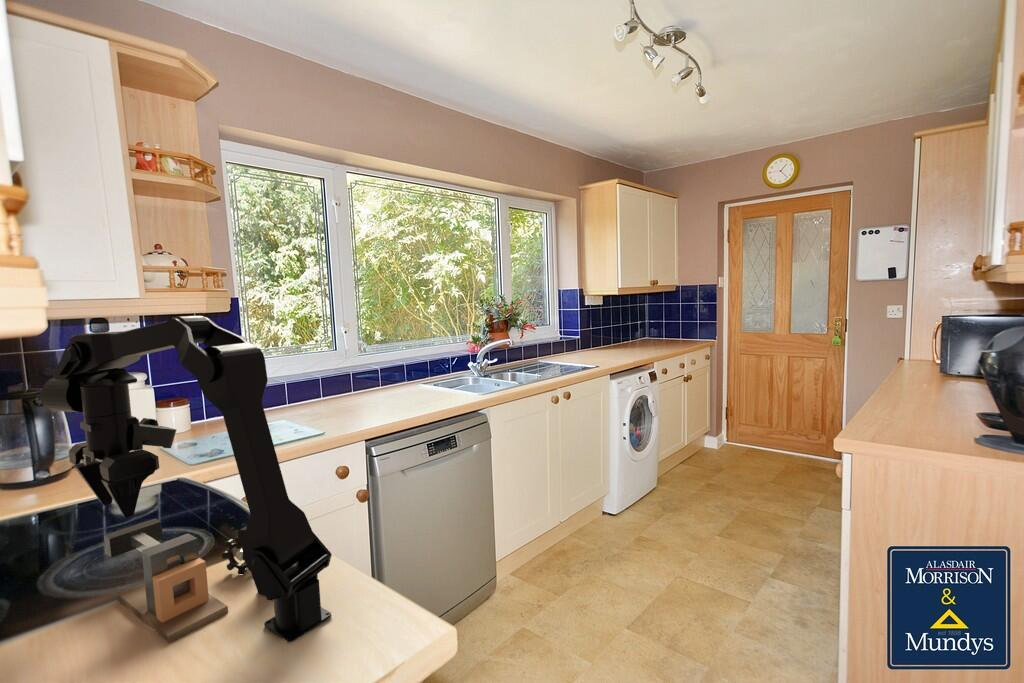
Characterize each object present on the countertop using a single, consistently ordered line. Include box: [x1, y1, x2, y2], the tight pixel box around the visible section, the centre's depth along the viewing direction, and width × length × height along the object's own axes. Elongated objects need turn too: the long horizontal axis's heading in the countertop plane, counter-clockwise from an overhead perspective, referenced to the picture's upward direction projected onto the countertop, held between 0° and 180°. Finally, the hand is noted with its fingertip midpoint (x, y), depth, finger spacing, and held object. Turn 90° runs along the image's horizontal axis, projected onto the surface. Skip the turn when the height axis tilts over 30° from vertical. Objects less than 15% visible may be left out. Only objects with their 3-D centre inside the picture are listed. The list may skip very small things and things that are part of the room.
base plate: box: [117, 582, 229, 644], centre depth 73 cm, size 18×8×1 cm, turn 56°
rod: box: [103, 518, 180, 569], centre depth 76 cm, size 16×7×3 cm, turn 56°
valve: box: [220, 536, 251, 575], centre depth 87 cm, size 7×7×12 cm
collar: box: [153, 557, 209, 623], centre depth 71 cm, size 2×6×6 cm, turn 146°
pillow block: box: [141, 533, 200, 617], centre depth 72 cm, size 3×6×9 cm, turn 145°
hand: (118, 510), depth 78 cm, fingers open, 9 cm apart
